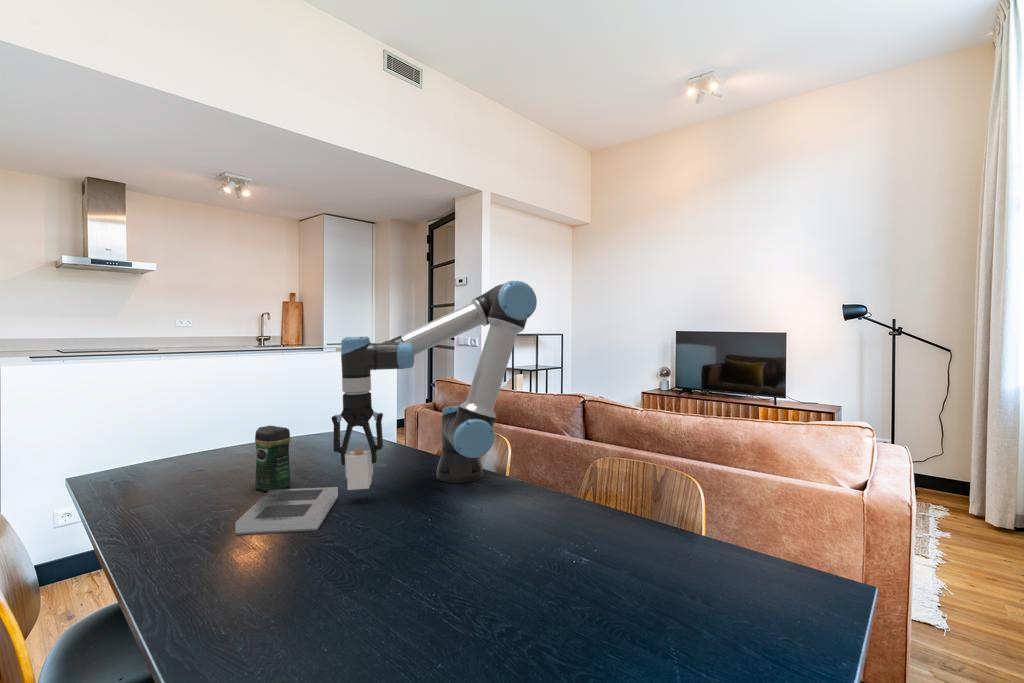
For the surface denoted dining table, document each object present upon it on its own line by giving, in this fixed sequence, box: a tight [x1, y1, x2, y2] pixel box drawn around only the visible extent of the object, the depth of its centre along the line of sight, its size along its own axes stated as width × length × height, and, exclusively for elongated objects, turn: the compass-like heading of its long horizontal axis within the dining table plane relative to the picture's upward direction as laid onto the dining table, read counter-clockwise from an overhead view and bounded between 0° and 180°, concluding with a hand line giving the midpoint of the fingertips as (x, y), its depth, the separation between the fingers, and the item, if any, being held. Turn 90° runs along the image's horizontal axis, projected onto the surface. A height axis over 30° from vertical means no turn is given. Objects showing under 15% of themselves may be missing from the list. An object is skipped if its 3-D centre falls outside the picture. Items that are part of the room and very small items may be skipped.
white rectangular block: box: [346, 446, 373, 491], centre depth 129 cm, size 6×6×10 cm
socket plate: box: [235, 486, 339, 536], centre depth 120 cm, size 18×22×3 cm
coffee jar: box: [254, 425, 291, 492], centre depth 140 cm, size 10×8×19 cm
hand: (359, 475), depth 129 cm, fingers closed on white rectangular block, 5 cm apart
